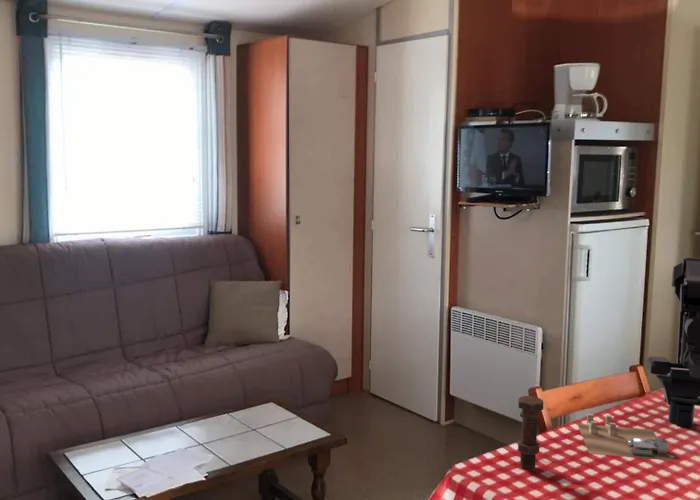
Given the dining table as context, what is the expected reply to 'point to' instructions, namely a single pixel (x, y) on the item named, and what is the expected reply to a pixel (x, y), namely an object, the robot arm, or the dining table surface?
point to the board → (617, 441)
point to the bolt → (529, 430)
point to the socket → (641, 452)
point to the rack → (609, 425)
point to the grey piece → (650, 445)
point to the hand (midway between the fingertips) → (691, 406)
